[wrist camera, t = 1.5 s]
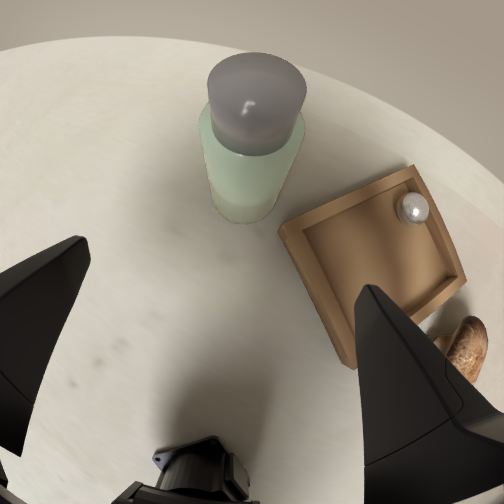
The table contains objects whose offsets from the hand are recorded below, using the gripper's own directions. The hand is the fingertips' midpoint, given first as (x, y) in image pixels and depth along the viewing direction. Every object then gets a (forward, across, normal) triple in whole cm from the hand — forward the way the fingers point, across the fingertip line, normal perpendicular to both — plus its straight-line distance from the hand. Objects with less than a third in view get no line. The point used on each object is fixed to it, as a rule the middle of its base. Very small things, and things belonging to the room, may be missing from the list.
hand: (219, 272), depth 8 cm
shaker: (+15, 0, +4) cm, 15 cm away
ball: (+14, -14, +3) cm, 20 cm away
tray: (+12, -12, +6) cm, 19 cm away
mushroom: (+7, -22, +12) cm, 26 cm away
